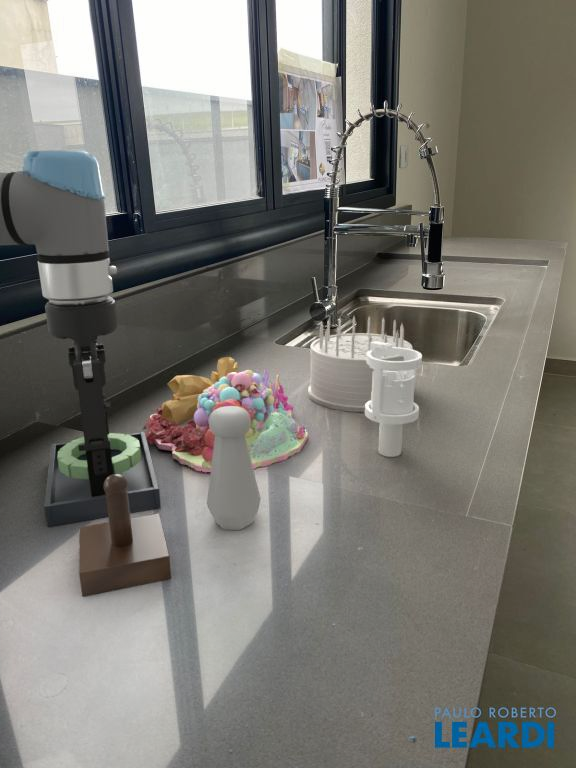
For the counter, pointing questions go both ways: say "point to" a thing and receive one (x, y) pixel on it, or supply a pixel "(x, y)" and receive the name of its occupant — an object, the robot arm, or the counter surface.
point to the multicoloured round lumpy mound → (226, 388)
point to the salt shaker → (232, 470)
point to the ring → (120, 462)
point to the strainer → (392, 394)
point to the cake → (347, 366)
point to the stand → (121, 546)
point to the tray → (76, 503)
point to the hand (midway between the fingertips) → (102, 477)
